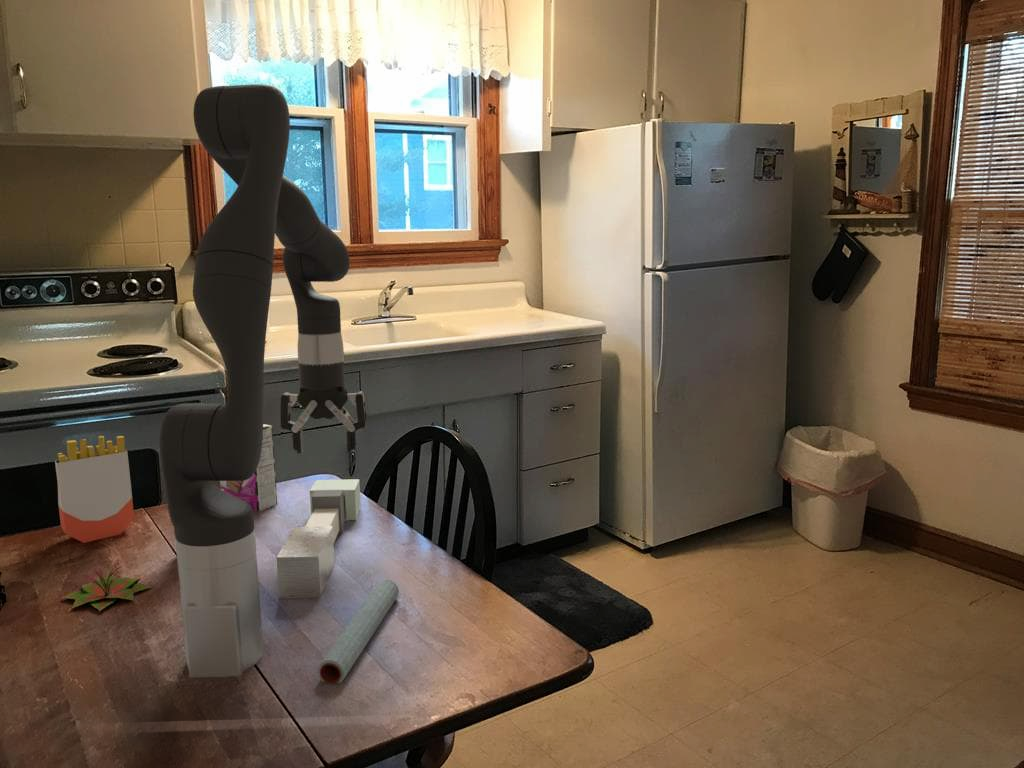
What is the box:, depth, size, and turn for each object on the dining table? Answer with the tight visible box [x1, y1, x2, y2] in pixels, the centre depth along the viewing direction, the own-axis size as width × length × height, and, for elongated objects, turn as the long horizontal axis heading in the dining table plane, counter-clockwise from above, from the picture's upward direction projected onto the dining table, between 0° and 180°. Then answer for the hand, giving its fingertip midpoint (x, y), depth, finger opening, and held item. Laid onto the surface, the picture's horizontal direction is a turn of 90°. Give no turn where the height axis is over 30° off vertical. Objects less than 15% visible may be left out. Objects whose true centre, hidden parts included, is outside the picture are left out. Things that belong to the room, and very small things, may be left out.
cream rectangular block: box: [276, 525, 335, 600], centre depth 126 cm, size 6×12×6 cm, turn 2°
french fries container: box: [54, 435, 135, 544], centre depth 143 cm, size 5×11×18 cm, turn 128°
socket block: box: [309, 478, 362, 521], centre depth 152 cm, size 8×6×6 cm
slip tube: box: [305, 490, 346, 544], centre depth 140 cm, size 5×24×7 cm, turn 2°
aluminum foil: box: [317, 579, 400, 685], centre depth 110 cm, size 23×7×3 cm, turn 171°
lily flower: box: [60, 562, 152, 612], centre depth 123 cm, size 12×12×5 cm
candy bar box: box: [218, 423, 278, 512], centre depth 158 cm, size 11×5×16 cm, turn 58°
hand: (325, 452), depth 143 cm, fingers open, 8 cm apart
